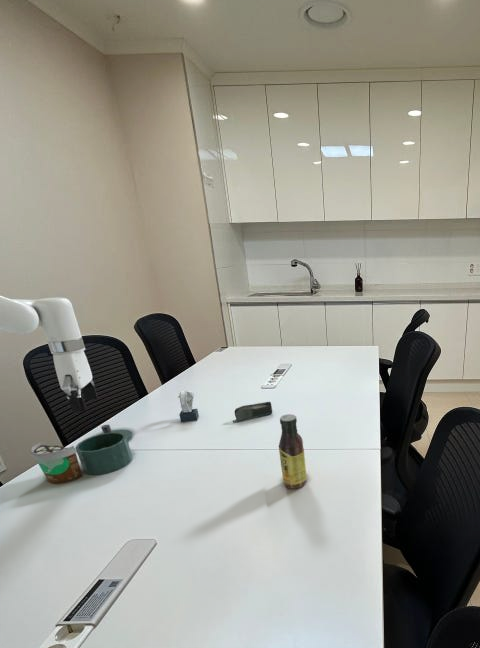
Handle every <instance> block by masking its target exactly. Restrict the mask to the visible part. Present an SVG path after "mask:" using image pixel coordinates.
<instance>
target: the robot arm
mask: <svg viewBox="0 0 480 648" xmlns="http://www.w3.org/2000/svg"><path fill="white" fill-rule="evenodd" d="M38 327H42V331H43V333H44V336H45V339H46V342H47V344H48V348H49V351H50V353H51V354H52V357H53V358H52V359H53V364H54V369H55V372H56V376H57V380H58V383H59V387H60V389H61V390H62V391H63V392H64V395H65V396H66V398H67V400H68V402H69V405H70V408H71V411H72V412H73V413H79V412H86V411H87V405H86V403H85V401H92V400H98V399H99V395H98V393H97V389H96V386H95V381H94V380H93V373H92V370H91V367H90V364H89V362H88V361H89V360H88V357H87V355H86V354H85V351H86V345H85V343H84V340H83V337H82V333H81V330H80V327H79V323H78V320H77V317H76V313H75V310H74V306H73V304H72V302H71V301H70V299H68V298H66V297H45V298H39V299H24V298H22V299H21V298H11V299H10V298H8V297H6V296H2V295H0V331H3V332H7V333H11V334H15V335H27V334H30V333H32V332H34V331H36V329H38ZM82 394H83V396H82Z"/></svg>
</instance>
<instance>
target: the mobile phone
mask: <svg viewBox="0 0 480 648" xmlns="http://www.w3.org/2000/svg"><path fill="white" fill-rule="evenodd" d="M272 413H273V405H272V402H271V401H265V402H258V403H253V404H245V405H241V406H239V407H236V408H235V410H234V416H235V419H233V420H232V422H233V423H236V422H240V421H246V420H250V419H254V418H260V417H265V416H269V415H271V414H272Z"/></svg>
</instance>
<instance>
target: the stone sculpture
mask: <svg viewBox="0 0 480 648" xmlns="http://www.w3.org/2000/svg"><path fill="white" fill-rule="evenodd" d="M194 397H195V395H194V392H192V391H191V390H181V391H179V393H178V396H177V398H178V399H179V403H180V408H181V411H180V412H179V419H180V423H188V422H197V421H198V420H199V417H200V415H199V410H198V408H193V402H194Z"/></svg>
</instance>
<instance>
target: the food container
mask: <svg viewBox="0 0 480 648" xmlns="http://www.w3.org/2000/svg"><path fill="white" fill-rule="evenodd" d="M30 455H31V460H33V461H34V462H37V464H38V465H39V467H40V469H41V471H42V473H43V474H44V476H45V478H46V480H47V481H48V483H49V484H52V485H62V484H66V483H70V482H73V481H76V480H79V479H80V478H82V477H83V473H82V470H81V467H80V463H79V458H78V455H77V451H76V448H75V446H74V445H71V446H69V447H64V446H61V445H46V444H43V442H42V441H40V442H38V443H37V444H35V445H34V446H32V448H31V450H30Z"/></svg>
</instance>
